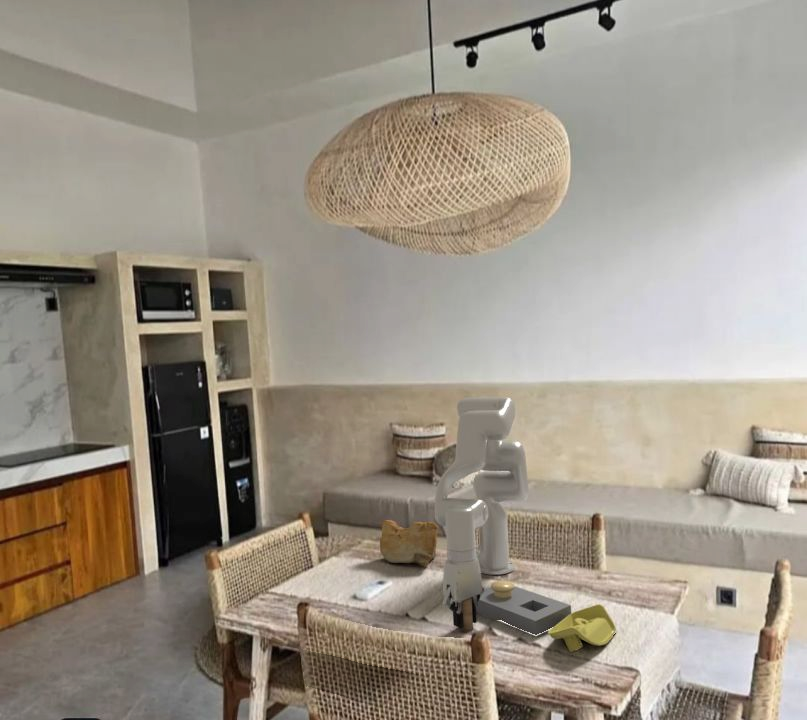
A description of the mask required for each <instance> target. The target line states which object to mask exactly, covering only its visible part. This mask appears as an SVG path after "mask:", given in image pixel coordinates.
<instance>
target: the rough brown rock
mask: <svg viewBox="0 0 807 720" xmlns="http://www.w3.org/2000/svg"><path fill="white" fill-rule="evenodd" d="M381 524H382V525H381V536H380V537H379V548H380V549H379V551H380V554H381V555H382V556H383V558H384V559H385V560H386V561H387V562H389V563H393V564H398V563H399V564H402V563H403V564H411V563H415V564H417V565H418V566H421V567H423V566H424V567H423V568H426V567H428V566H429V563H430V561H432V559H435V558H436V557H437V554H436V551H437V543H438V541H437V537H438V533H439V528H438V525H437V524H438V523H437V524H436V523H435V522H433V521H426V522H423V521H416V522H412V523H411V525H410V526H409V527H407V528H404V527H402V526H400V525H399V524H398V523H397V522H396V521H394V520H391V519H387V520H385V519H384V520H382V523H381Z"/></svg>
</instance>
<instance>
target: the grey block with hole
mask: <svg viewBox="0 0 807 720" xmlns="http://www.w3.org/2000/svg"><path fill="white" fill-rule="evenodd" d="M476 614H479V615H481V616H484V617H486V618H489V619H491V620H493V621H496V620H502V621H504V622H506V623H508V624H510V625H512V626H515V627H517V628H519V629H522V630H524V631H527V632H530V633H532V634H535V635H537V634H539V633H542V632H544V631H546V630H548V629H550V628H552V627H554V626H556V625H557V624H558V623H559V622H561V621H562V620H563V619H564V618H566V617H567V616H568V615H570V614H572V605H571V604H568V603H566V602H563V601H559V600H557V599H554V598H551V597H547V596H546V595H542V594H539V593H536V592H533V591H530V590H528V589H524V588H521V587H519V586H515V583H514V582H512V581H510V580H497V581H495V580H494V581H493V582H491V584H490V587H487V588H484V592H483V594H482V595H481V596H480V599H479V601H478V606H477V607H476Z"/></svg>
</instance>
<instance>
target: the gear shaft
mask: <svg viewBox="0 0 807 720" xmlns="http://www.w3.org/2000/svg"><path fill="white" fill-rule="evenodd" d="M456 606H457V603H456ZM461 613H463V624H464V627H463V628H462V629H461V628H458V627H457V630H458V631H459V632H464V633H468V632H471V631H473V630H474V623H473V615H472V597H471V598H468V599H466V600H463V601H462V606H461Z"/></svg>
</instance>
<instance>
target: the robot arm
mask: <svg viewBox="0 0 807 720" xmlns="http://www.w3.org/2000/svg"><path fill="white" fill-rule="evenodd" d="M456 410H457V414H458V416H459V418H458V422H457V431H456V432H457V434H456V435H457V436H456V447H455V457H454V462H453V463H452V464H451V465H450V466H449V467H448V468H447V469H446V470H445V471H444V473H442V475H441V478H440V479H439V481H438V482H437V486H436V491H435V498H434V499H435V501H434V518H435V519H434V520H435V521H436V523H437V524H439V525H440V526H443V527H445V533H446V534H445V537H446V553H447V554H446V555H447V559H446V560H445V561H444V566H443V575H442V595H443V600H442V606H445V607H447V608H448V609H449V610H450V611H451V612H452V618H453V619H452V620H453V621H452V622H453V626H454V627H456V628H457V629H458V628H461V629H462V628H463V627H464V624H463V613H461V606H462V601H463V600H466V599H468V598H471V597H472V615H473V624H477V621H478V620H477V618H478V617H477V613H476V607H477V606H478V601H479V599H480V596H481V595H482V594H483V592H484V589H485V588H484V586H483V582H482V580H483V579H482V574H485V575H495V576H497V575H498V576H499V575H504V574H508V573H511V572H513V571H514V570H515V564H514V562H512V561H510V549H509V548H510V547H509V544H510V543H509V529H508V527H509V525H508V515H507V514H508V513H507V511H506V509H505V508H504V507H503V505H502V503H501V502H510V503H512V502H513V503H519V502H524V501H526V499H527V498H528V497H529V479H528V471H527V459H526V458H527V457H526V453H525V451H526V450H525V448H524V445H522V443H521V442H519V441H517V440H516V441H515V440H506V439H507V438H508V436H509V435H510V432H511V428H512V426H513V425H514V421H515V417H516V407H515V403H514V401H513V400H512V399H511V398H509V397H506V396H505V397H504V396H499V397H498V396H497V397H496V396H494V397H491V396H490V397H464V398H462V399H460V400H459V401H458V402H457V406H456ZM478 471H481V472H478ZM476 472H478V473H477V474H476V475H475V476H474V478H473V481H472V482H473V483H472V485H473V493H474V496H475V498H465V497H464V498H463V497H460V498H459V497H449V496H448V495H449V492H450V489H451V488H452V487H453V485H455V483H457V482H458V481H459V480H461V479H463V478H465V477H467V476H470V475H471V474H474V473H476ZM476 529H477V531H478V545H477V541H476V539H477V537H476ZM456 603H457V605H456Z"/></svg>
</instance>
